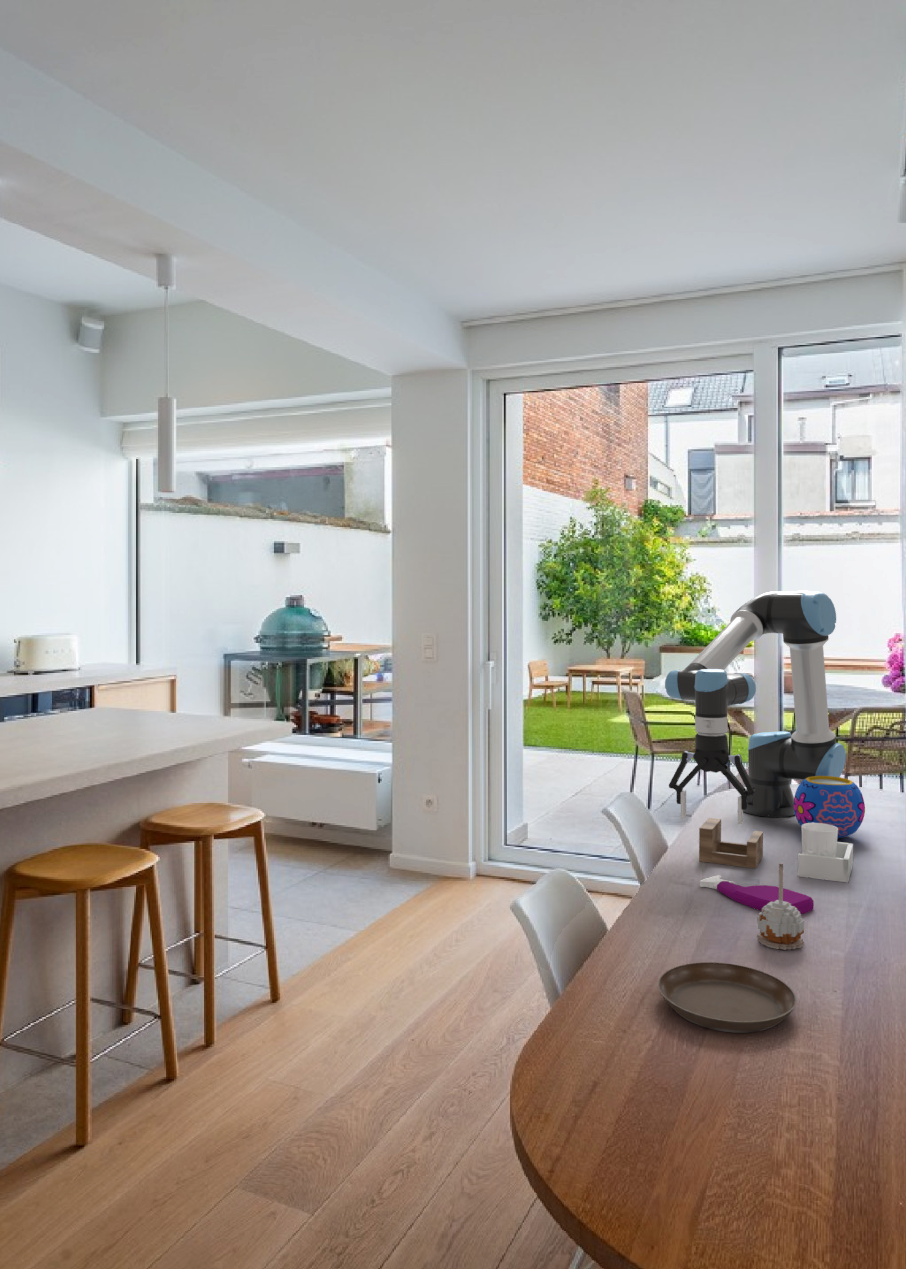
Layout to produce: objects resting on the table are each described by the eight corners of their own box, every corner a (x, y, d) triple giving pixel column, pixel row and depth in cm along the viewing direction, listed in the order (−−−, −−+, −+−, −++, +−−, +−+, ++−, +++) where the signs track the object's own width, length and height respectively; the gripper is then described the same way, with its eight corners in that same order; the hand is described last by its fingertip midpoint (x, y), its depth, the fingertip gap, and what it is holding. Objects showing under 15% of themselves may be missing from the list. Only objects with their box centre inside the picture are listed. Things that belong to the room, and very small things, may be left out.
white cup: (831, 877, 212) (832, 833, 212) (795, 870, 217) (796, 827, 216) (841, 868, 218) (842, 826, 218) (807, 862, 223) (807, 821, 223)
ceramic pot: (851, 828, 254) (852, 773, 253) (874, 846, 237) (875, 787, 236) (785, 827, 256) (785, 772, 255) (802, 845, 238) (803, 786, 238)
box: (805, 858, 226) (805, 838, 226) (852, 864, 221) (853, 843, 221) (797, 876, 213) (798, 854, 213) (848, 882, 208) (848, 860, 208)
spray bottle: (786, 922, 185) (689, 891, 205) (819, 911, 191) (721, 882, 211) (786, 907, 185) (688, 877, 205) (819, 896, 191) (721, 869, 211)
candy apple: (767, 933, 178) (768, 855, 177) (808, 943, 173) (810, 862, 172) (751, 945, 172) (752, 864, 171) (793, 956, 167) (795, 872, 166)
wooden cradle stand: (708, 849, 235) (708, 817, 234) (762, 856, 229) (763, 823, 228) (699, 861, 225) (699, 828, 224) (755, 868, 219) (755, 834, 218)
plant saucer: (808, 1046, 135) (808, 1024, 135) (660, 1035, 138) (661, 1013, 138) (783, 986, 155) (783, 966, 155) (655, 977, 159) (655, 958, 158)
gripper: (656, 733, 230) (656, 818, 231) (762, 739, 218) (762, 829, 220) (663, 728, 236) (664, 811, 238) (767, 733, 225) (767, 821, 226)
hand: (711, 820), depth 229 cm, fingers open, 13 cm apart
